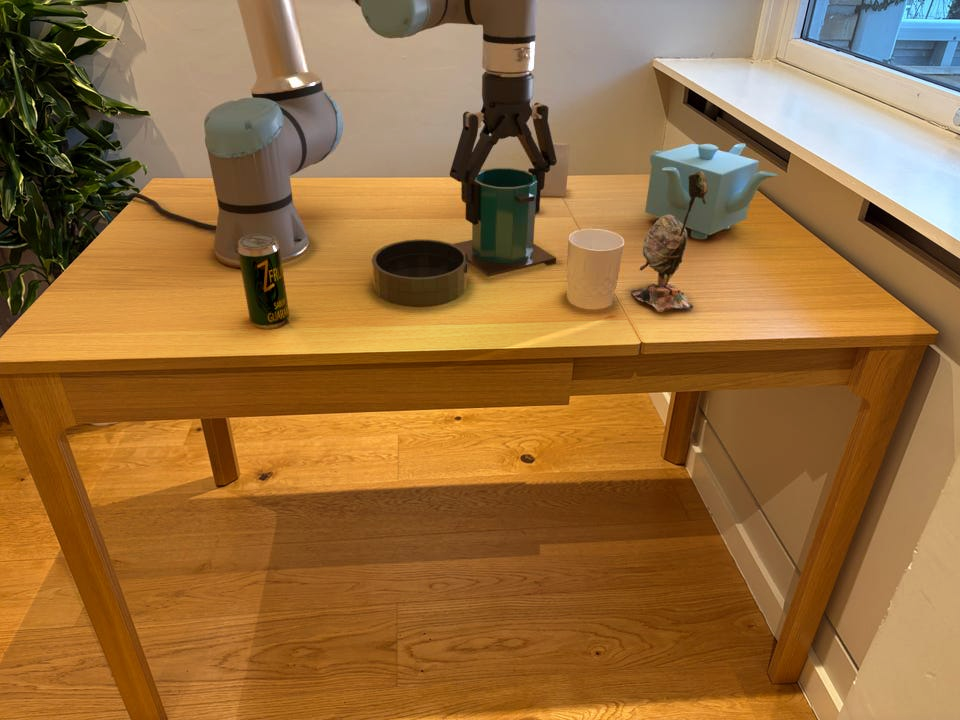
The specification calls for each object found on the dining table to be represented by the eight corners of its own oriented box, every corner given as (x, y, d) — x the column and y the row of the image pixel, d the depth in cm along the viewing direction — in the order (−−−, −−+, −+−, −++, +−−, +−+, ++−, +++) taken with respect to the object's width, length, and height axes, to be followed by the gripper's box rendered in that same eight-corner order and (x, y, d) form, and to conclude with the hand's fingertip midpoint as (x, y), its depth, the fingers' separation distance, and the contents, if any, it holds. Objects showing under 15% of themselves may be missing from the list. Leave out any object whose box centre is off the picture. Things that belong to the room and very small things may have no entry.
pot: (456, 242, 123) (456, 170, 116) (506, 232, 127) (509, 161, 120) (497, 272, 113) (499, 195, 106) (549, 259, 117) (555, 185, 111)
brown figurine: (672, 280, 114) (694, 154, 103) (697, 315, 105) (725, 180, 94) (622, 282, 113) (639, 155, 103) (643, 316, 104) (664, 181, 93)
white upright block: (565, 196, 146) (569, 147, 140) (532, 195, 146) (535, 145, 141) (565, 190, 149) (569, 141, 143) (532, 189, 149) (535, 140, 144)
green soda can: (242, 324, 100) (227, 243, 94) (269, 308, 104) (256, 230, 98) (271, 334, 98) (258, 252, 92) (298, 317, 102) (287, 238, 96)
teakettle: (637, 206, 142) (648, 130, 134) (734, 209, 141) (750, 133, 133) (651, 244, 126) (664, 161, 118) (760, 248, 125) (780, 164, 117)
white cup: (581, 285, 112) (587, 224, 107) (626, 300, 108) (634, 238, 103) (552, 303, 107) (557, 240, 102) (598, 320, 103) (605, 255, 97)
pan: (359, 279, 112) (357, 250, 110) (440, 261, 119) (440, 233, 116) (398, 318, 102) (396, 287, 99) (484, 296, 108) (485, 266, 106)
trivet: (448, 250, 123) (448, 244, 122) (513, 236, 128) (513, 230, 128) (488, 280, 113) (488, 274, 113) (555, 263, 119) (556, 257, 118)
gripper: (449, 84, 97) (450, 236, 109) (587, 69, 107) (575, 210, 119) (424, 74, 103) (427, 220, 114) (558, 60, 113) (548, 196, 125)
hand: (502, 215), depth 117 cm, fingers open, 11 cm apart
